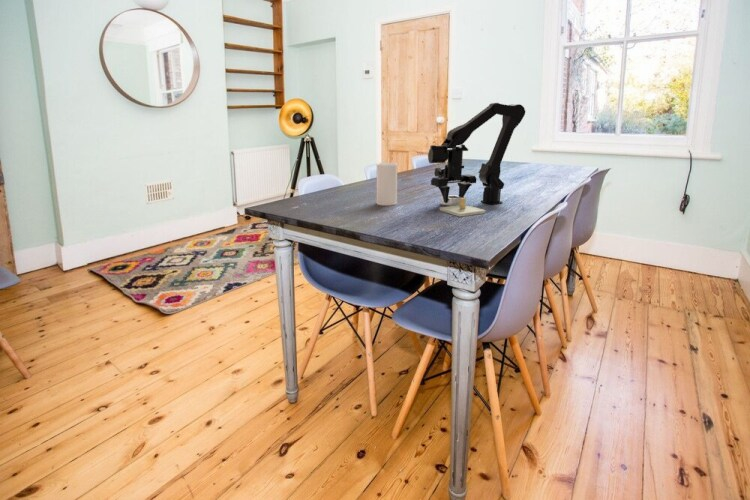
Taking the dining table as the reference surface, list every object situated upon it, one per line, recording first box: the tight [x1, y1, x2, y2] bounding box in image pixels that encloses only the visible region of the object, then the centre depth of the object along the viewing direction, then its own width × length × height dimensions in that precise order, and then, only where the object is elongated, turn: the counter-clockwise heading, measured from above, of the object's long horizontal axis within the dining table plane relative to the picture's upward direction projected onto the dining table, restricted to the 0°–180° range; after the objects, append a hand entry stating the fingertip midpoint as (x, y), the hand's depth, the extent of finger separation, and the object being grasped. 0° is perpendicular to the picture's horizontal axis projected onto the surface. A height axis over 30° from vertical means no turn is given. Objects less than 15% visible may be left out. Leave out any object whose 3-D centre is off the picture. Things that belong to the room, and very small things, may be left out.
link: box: [440, 194, 466, 207], centre depth 183 cm, size 7×7×3 cm
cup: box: [376, 162, 398, 206], centre depth 184 cm, size 8×8×16 cm
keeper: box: [439, 197, 486, 218], centre depth 171 cm, size 12×12×5 cm
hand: (452, 201), depth 184 cm, fingers closed on link, 7 cm apart
